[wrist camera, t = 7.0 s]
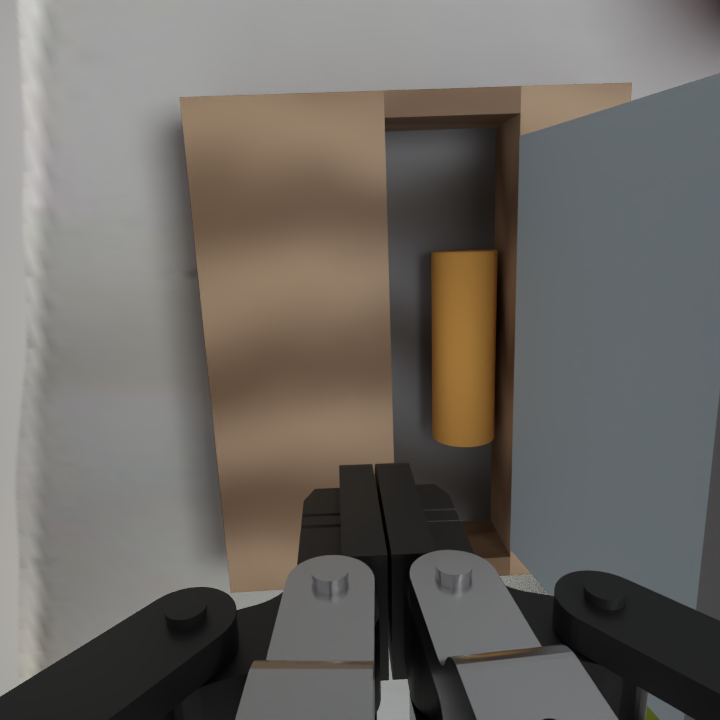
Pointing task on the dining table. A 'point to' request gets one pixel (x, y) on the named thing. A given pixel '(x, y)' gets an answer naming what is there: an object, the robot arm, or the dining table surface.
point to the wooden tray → (352, 293)
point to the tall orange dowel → (463, 345)
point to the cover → (621, 349)
